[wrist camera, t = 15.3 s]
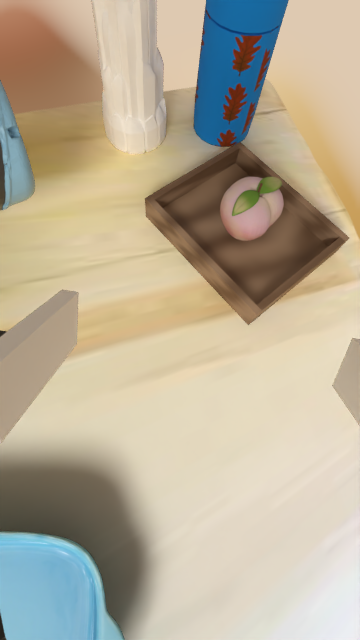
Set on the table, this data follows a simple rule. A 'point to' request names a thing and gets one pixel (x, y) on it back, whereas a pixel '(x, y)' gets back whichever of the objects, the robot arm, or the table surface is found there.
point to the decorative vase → (130, 74)
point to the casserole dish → (51, 590)
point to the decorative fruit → (251, 207)
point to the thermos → (234, 66)
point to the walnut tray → (236, 255)
